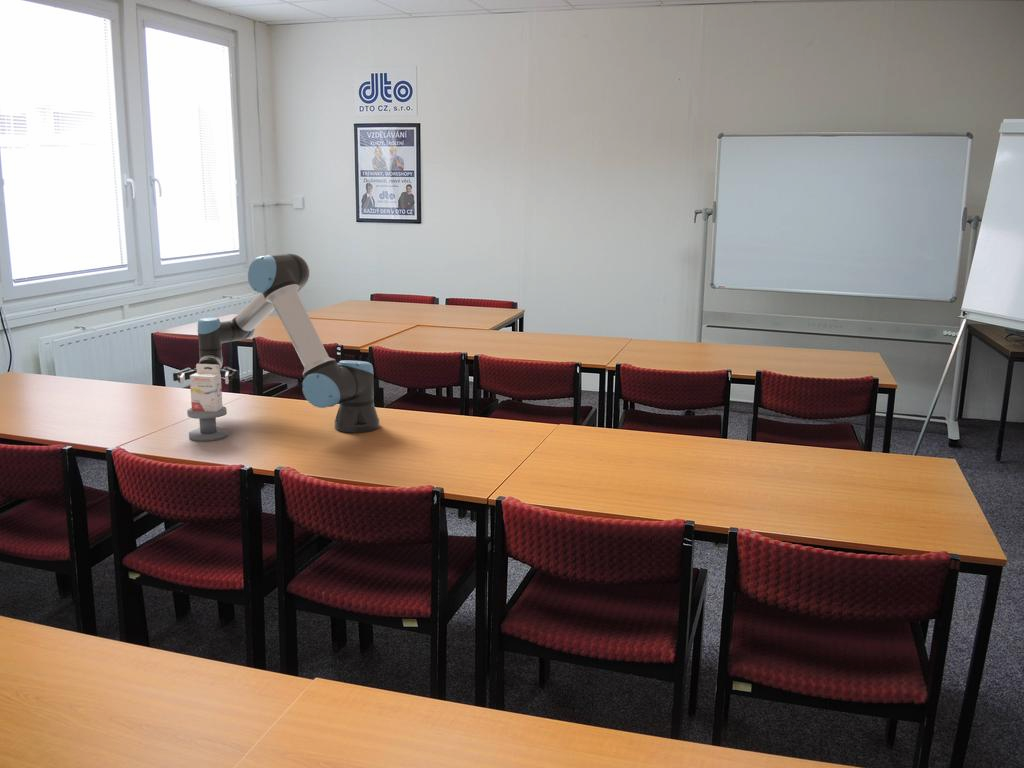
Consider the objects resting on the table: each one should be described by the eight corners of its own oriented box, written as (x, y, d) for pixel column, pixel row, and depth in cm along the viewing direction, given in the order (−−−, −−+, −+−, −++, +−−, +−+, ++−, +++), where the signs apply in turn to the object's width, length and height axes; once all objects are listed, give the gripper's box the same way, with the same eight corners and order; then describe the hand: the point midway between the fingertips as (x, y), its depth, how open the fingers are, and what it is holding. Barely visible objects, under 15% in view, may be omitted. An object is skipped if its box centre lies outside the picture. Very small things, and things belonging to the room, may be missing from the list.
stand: (235, 434, 275) (234, 407, 273) (209, 443, 264) (207, 416, 262) (208, 429, 280) (206, 403, 278) (180, 438, 269) (178, 411, 267)
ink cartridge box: (191, 410, 268) (187, 366, 265) (198, 407, 273) (195, 363, 270) (216, 412, 267) (213, 367, 264) (223, 408, 272) (220, 364, 269)
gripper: (247, 377, 290) (245, 390, 270) (171, 379, 283) (163, 393, 263) (246, 355, 288) (244, 367, 268) (169, 358, 282) (161, 370, 262)
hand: (204, 380), depth 266 cm, fingers open, 13 cm apart
